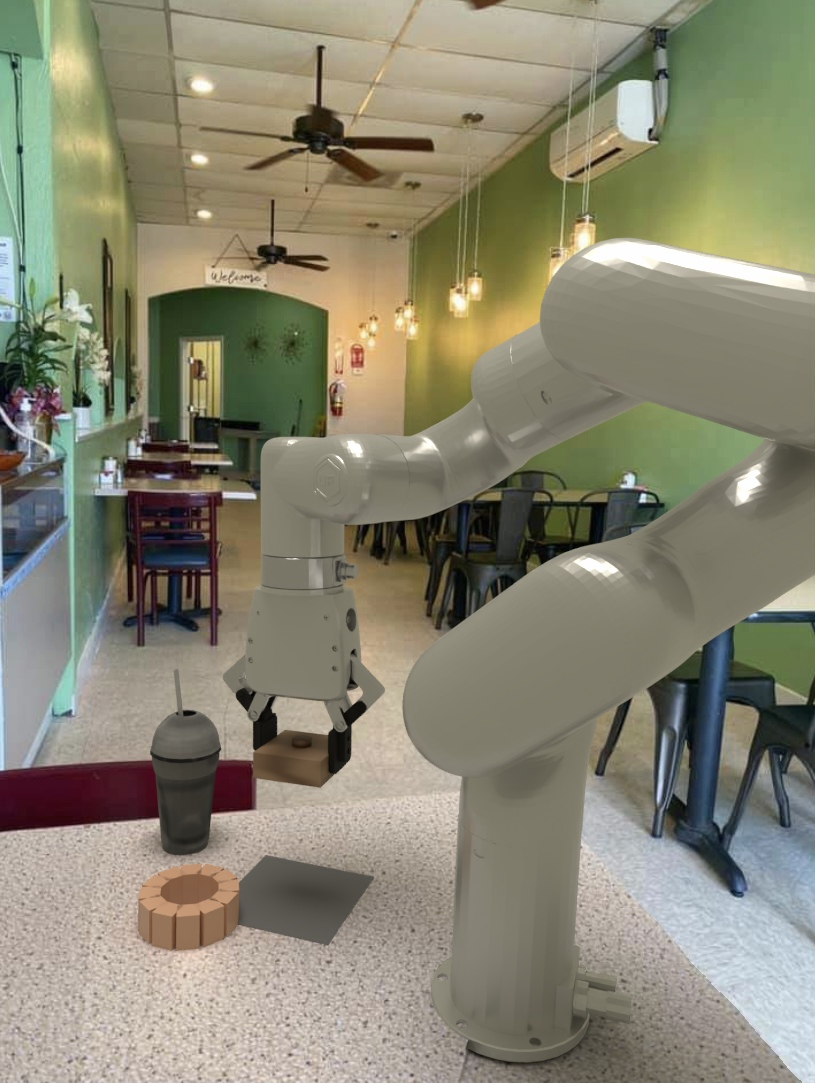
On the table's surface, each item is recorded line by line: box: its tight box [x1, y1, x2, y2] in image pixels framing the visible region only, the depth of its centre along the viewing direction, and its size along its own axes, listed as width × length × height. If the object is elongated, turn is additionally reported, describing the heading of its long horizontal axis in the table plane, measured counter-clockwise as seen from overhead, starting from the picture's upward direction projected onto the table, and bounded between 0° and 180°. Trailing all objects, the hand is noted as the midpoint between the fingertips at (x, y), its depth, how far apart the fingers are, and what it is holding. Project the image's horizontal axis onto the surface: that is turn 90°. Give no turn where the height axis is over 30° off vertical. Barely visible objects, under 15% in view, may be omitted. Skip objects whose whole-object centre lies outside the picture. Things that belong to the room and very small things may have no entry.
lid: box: [252, 729, 335, 789], centre depth 76 cm, size 7×7×3 cm
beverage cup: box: [149, 668, 222, 856], centre depth 86 cm, size 7×7×20 cm
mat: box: [237, 854, 375, 946], centre depth 78 cm, size 12×12×1 cm
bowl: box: [137, 863, 240, 952], centre depth 73 cm, size 9×9×4 cm
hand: (301, 762), depth 76 cm, fingers closed on lid, 6 cm apart
